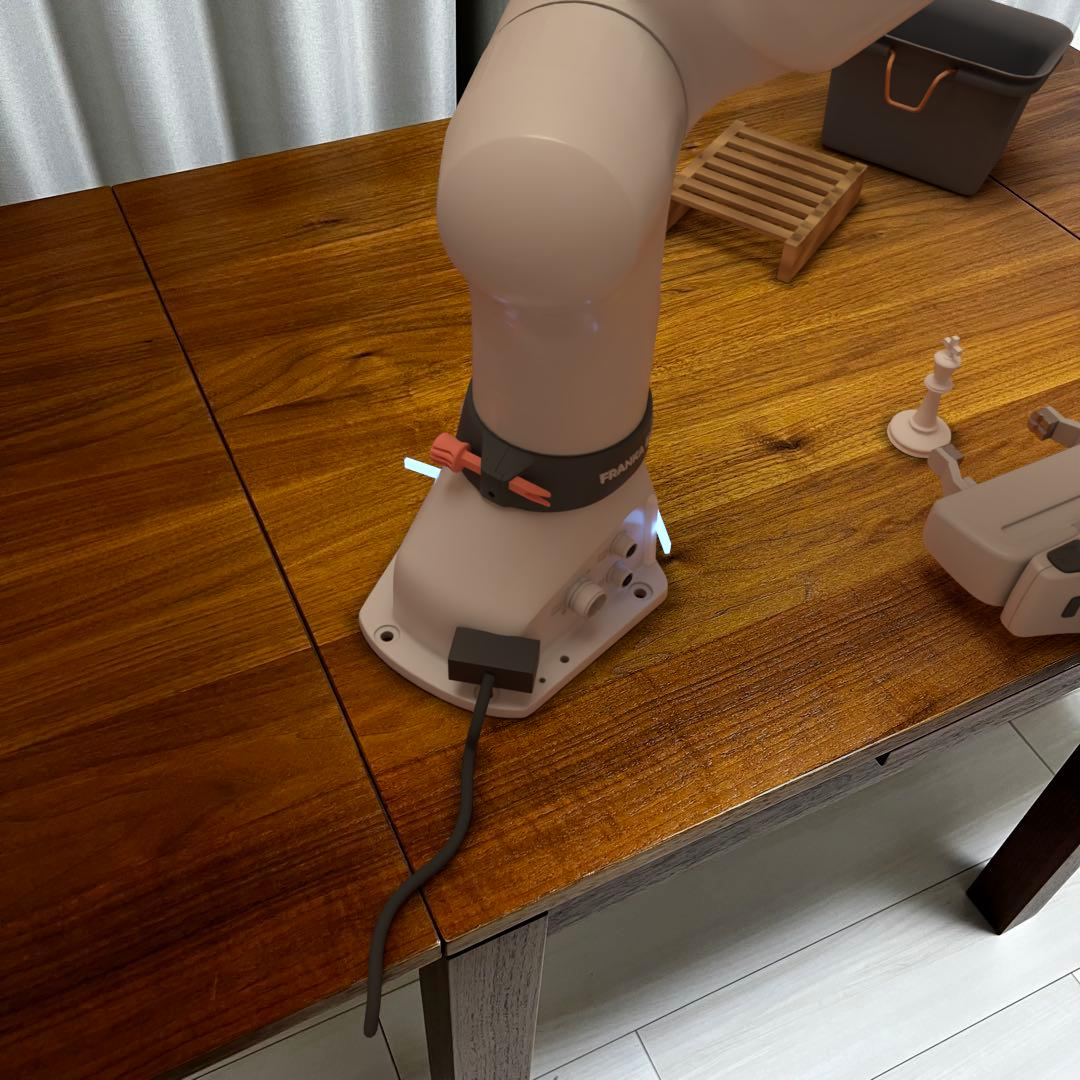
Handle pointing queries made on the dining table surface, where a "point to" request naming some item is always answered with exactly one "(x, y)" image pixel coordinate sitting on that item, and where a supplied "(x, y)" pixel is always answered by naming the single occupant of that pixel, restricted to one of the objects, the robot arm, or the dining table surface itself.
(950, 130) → the storage bin
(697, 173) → the rack
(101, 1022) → the dining table surface
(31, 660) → the dining table surface
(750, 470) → the dining table surface
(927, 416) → the chess piece
